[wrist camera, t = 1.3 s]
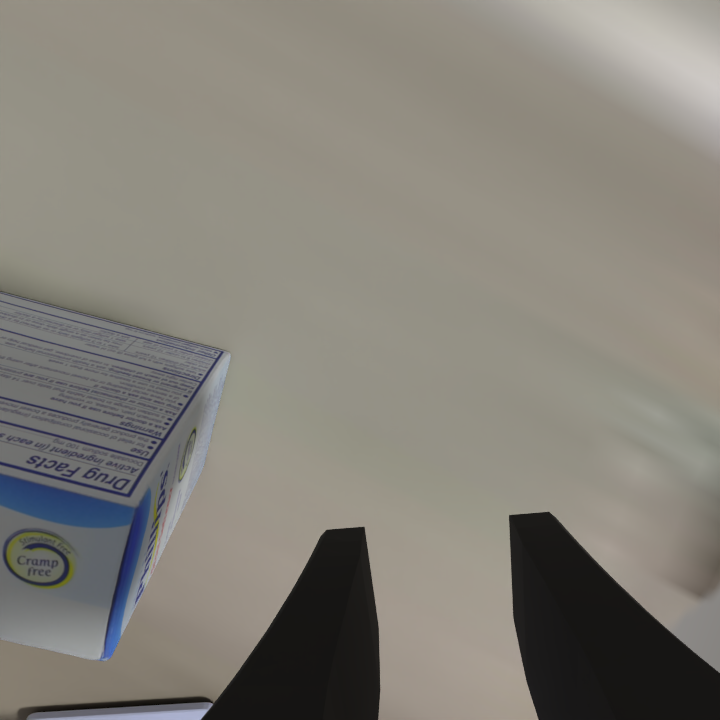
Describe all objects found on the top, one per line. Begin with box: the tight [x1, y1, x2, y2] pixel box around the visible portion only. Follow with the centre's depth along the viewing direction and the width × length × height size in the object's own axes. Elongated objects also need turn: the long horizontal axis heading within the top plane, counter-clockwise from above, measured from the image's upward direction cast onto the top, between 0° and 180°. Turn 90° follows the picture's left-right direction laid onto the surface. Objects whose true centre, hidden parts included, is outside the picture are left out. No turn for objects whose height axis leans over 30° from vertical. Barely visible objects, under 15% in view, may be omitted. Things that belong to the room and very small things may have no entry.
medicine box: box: [0, 292, 231, 661], centre depth 17 cm, size 8×4×9 cm, turn 74°
